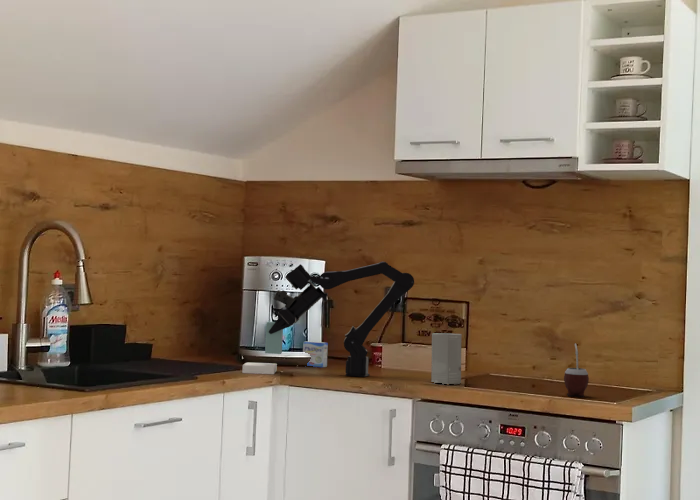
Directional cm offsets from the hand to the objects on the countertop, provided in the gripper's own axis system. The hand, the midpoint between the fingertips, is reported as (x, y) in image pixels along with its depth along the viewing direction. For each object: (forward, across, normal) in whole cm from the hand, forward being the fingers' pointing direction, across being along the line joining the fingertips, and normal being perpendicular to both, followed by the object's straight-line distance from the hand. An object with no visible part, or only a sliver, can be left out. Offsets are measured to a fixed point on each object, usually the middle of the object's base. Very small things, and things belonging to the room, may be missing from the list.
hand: (270, 332), depth 320 cm
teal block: (+4, 0, +6) cm, 7 cm away
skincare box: (-31, +12, +49) cm, 59 cm away
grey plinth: (+11, 0, +7) cm, 13 cm away
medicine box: (0, -27, +19) cm, 33 cm away
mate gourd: (-57, +31, +74) cm, 99 cm away
